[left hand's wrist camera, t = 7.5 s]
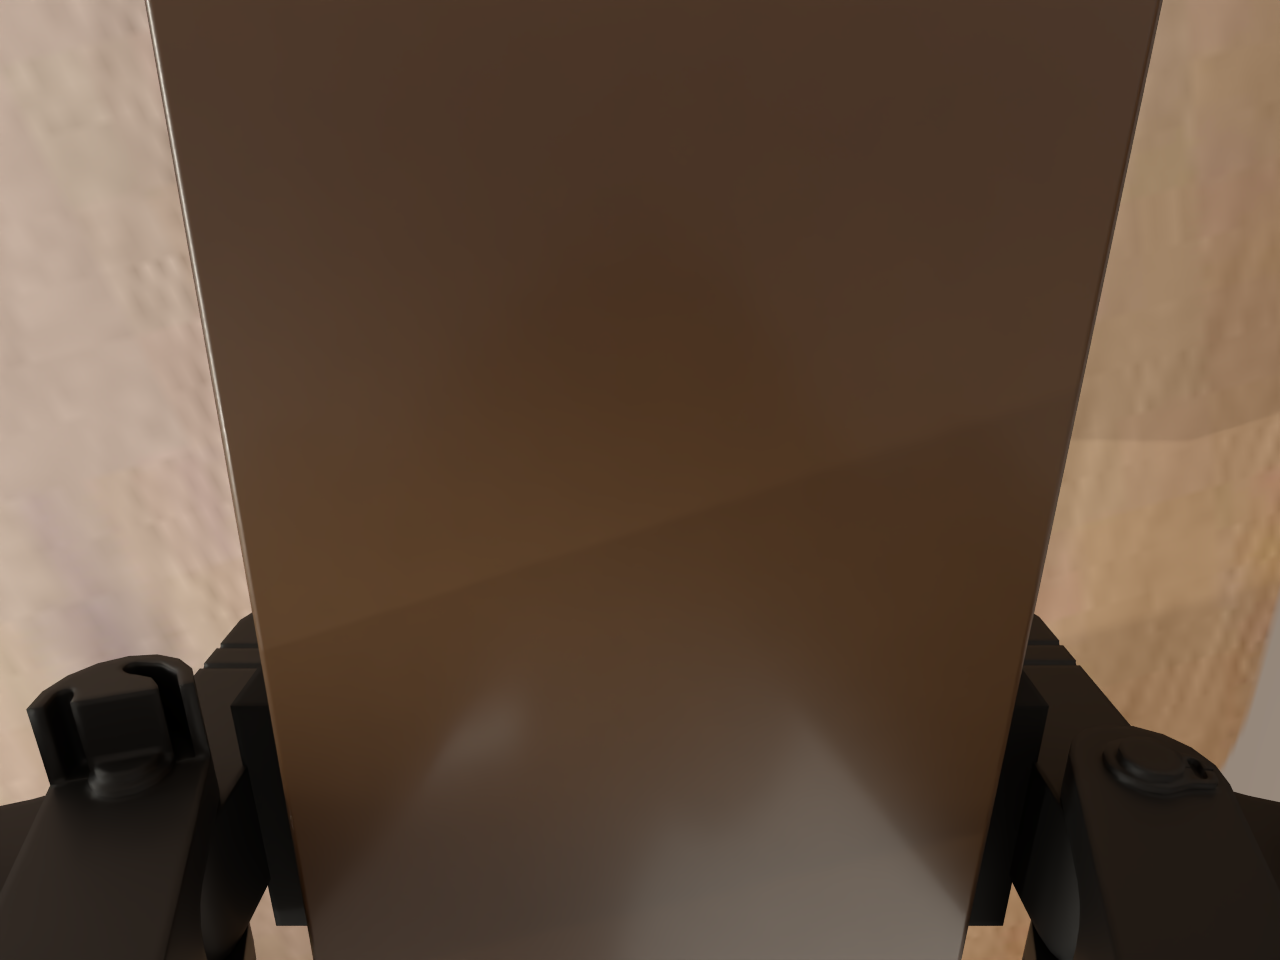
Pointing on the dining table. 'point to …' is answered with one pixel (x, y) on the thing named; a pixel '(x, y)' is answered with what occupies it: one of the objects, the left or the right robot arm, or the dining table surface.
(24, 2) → the dining table surface
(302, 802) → the bar
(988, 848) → the left robot arm
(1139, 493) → the dining table surface
